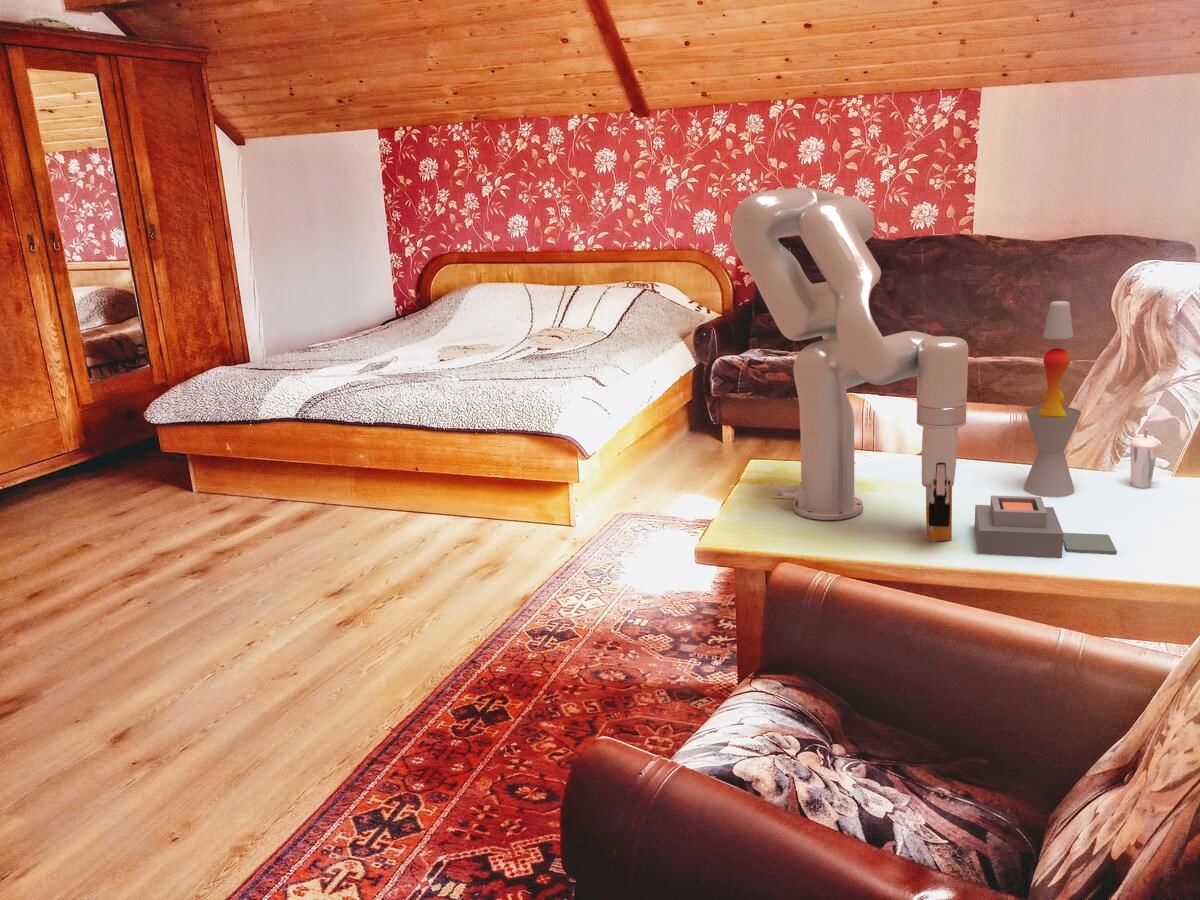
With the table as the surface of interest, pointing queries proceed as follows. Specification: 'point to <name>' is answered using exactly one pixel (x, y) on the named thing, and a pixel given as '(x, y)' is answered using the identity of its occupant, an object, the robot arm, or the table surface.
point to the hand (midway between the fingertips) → (938, 519)
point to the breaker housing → (1018, 529)
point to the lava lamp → (1053, 415)
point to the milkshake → (1143, 460)
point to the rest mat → (1088, 543)
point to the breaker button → (1017, 506)
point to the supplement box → (936, 531)
